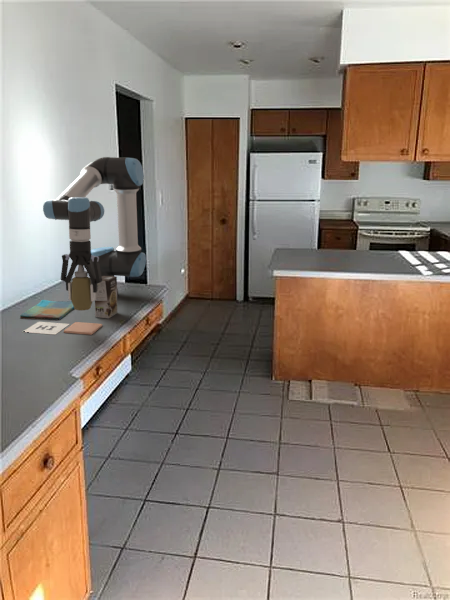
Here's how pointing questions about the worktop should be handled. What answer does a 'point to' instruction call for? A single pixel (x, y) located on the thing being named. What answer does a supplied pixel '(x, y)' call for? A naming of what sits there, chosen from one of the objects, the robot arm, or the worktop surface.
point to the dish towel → (49, 310)
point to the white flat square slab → (46, 328)
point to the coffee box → (106, 297)
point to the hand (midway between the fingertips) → (82, 299)
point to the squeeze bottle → (81, 290)
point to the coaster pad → (83, 328)
